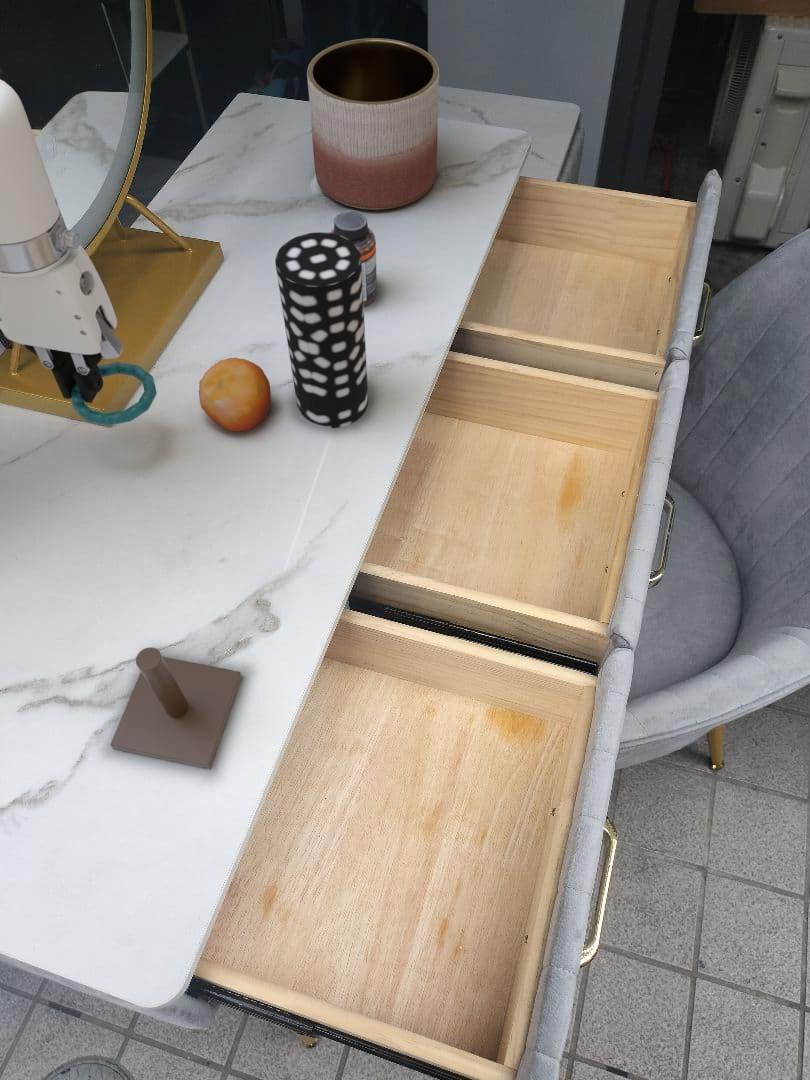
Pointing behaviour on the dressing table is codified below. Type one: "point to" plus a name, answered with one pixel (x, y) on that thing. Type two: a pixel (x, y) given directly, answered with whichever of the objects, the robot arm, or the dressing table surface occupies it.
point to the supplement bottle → (360, 248)
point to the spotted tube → (325, 326)
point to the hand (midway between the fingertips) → (83, 390)
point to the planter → (374, 122)
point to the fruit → (235, 394)
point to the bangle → (120, 415)
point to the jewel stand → (176, 710)
